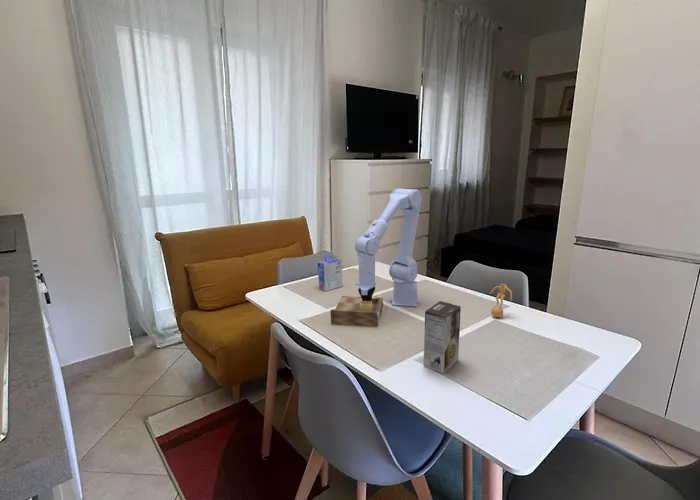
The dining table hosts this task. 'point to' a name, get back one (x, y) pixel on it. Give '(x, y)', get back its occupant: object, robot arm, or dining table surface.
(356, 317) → the board
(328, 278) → the ink cartridge box
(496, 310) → the figurine
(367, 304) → the cube
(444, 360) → the coffee box
